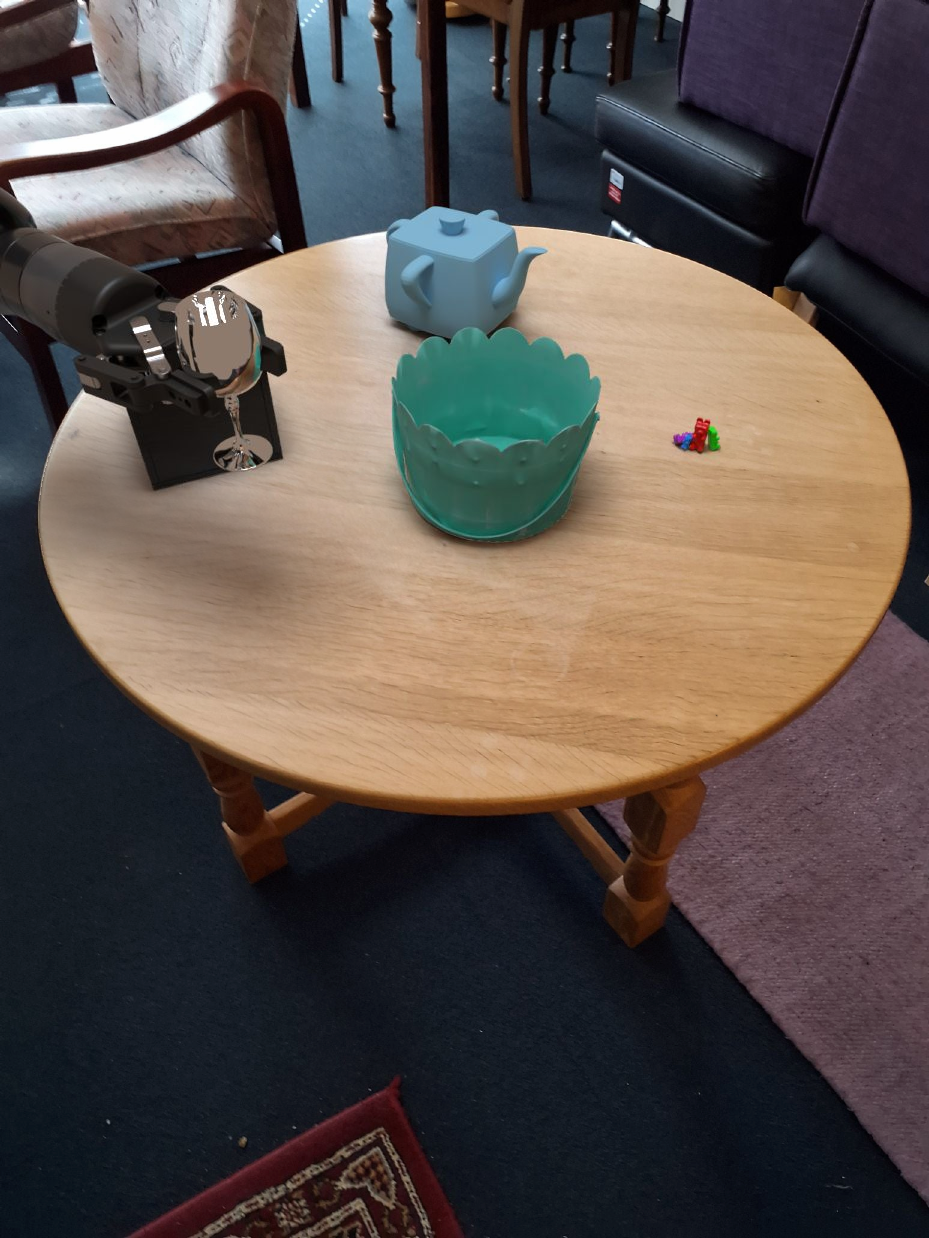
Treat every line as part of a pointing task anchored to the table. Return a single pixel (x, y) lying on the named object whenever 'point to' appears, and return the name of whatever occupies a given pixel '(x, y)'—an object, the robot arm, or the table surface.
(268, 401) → the waste bin
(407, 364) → the basket
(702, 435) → the gummy bear
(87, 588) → the table surface
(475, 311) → the teapot
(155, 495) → the table surface
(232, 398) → the wineglass
